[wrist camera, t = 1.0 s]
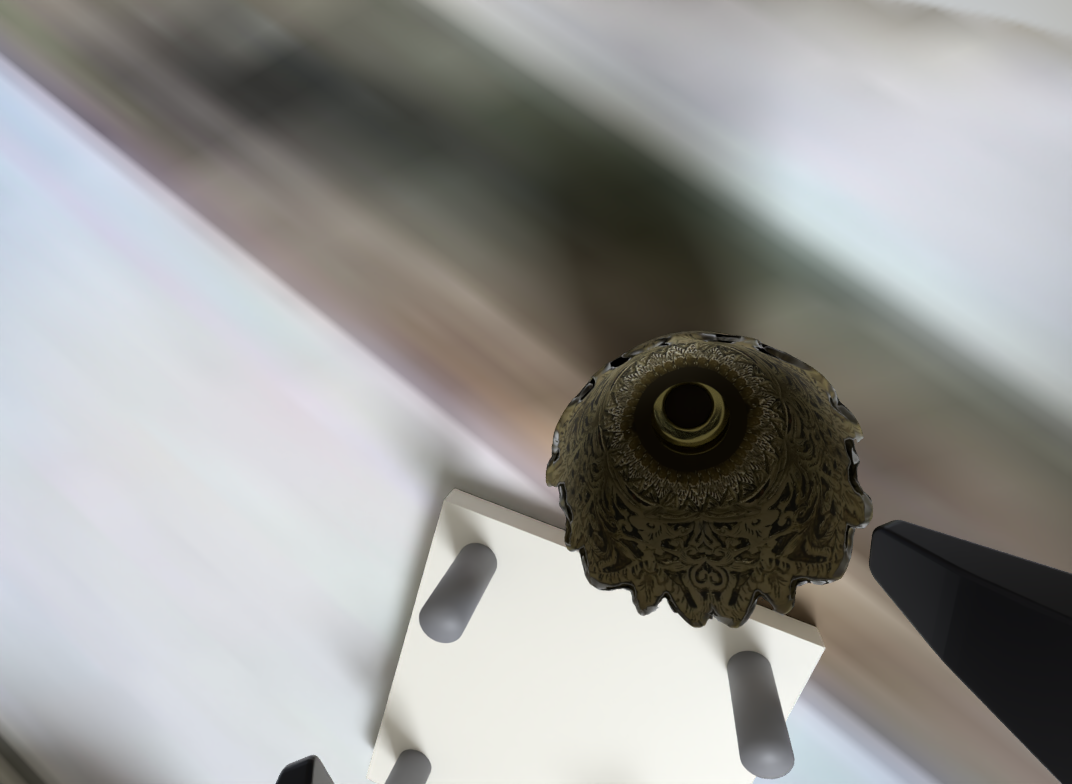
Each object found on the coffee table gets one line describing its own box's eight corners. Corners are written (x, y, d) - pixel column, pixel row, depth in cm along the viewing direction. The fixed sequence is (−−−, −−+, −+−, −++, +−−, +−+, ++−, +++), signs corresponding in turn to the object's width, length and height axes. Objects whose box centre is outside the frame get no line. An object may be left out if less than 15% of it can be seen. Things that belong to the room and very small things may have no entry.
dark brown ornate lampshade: (570, 322, 22) (518, 362, 14) (783, 284, 20) (857, 306, 12) (605, 510, 23) (576, 639, 15) (807, 490, 21) (886, 625, 14)
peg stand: (817, 627, 22) (860, 735, 17) (676, 892, 27) (679, 1039, 22) (454, 488, 24) (400, 549, 19) (377, 756, 29) (317, 863, 24)
